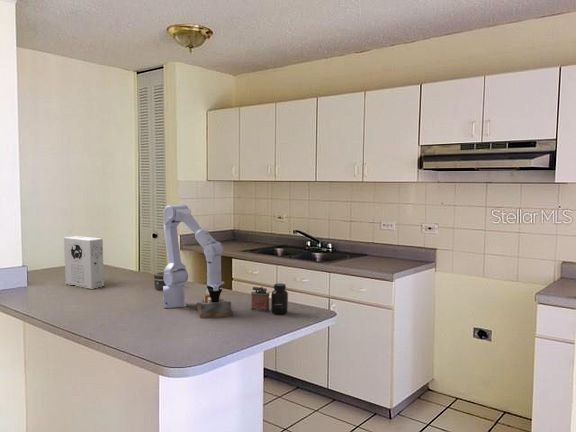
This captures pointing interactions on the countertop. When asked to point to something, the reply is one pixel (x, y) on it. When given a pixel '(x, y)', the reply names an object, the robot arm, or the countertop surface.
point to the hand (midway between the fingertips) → (214, 304)
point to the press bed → (214, 309)
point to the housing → (219, 299)
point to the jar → (159, 281)
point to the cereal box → (84, 261)
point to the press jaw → (207, 296)
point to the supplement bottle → (279, 300)
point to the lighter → (260, 300)
